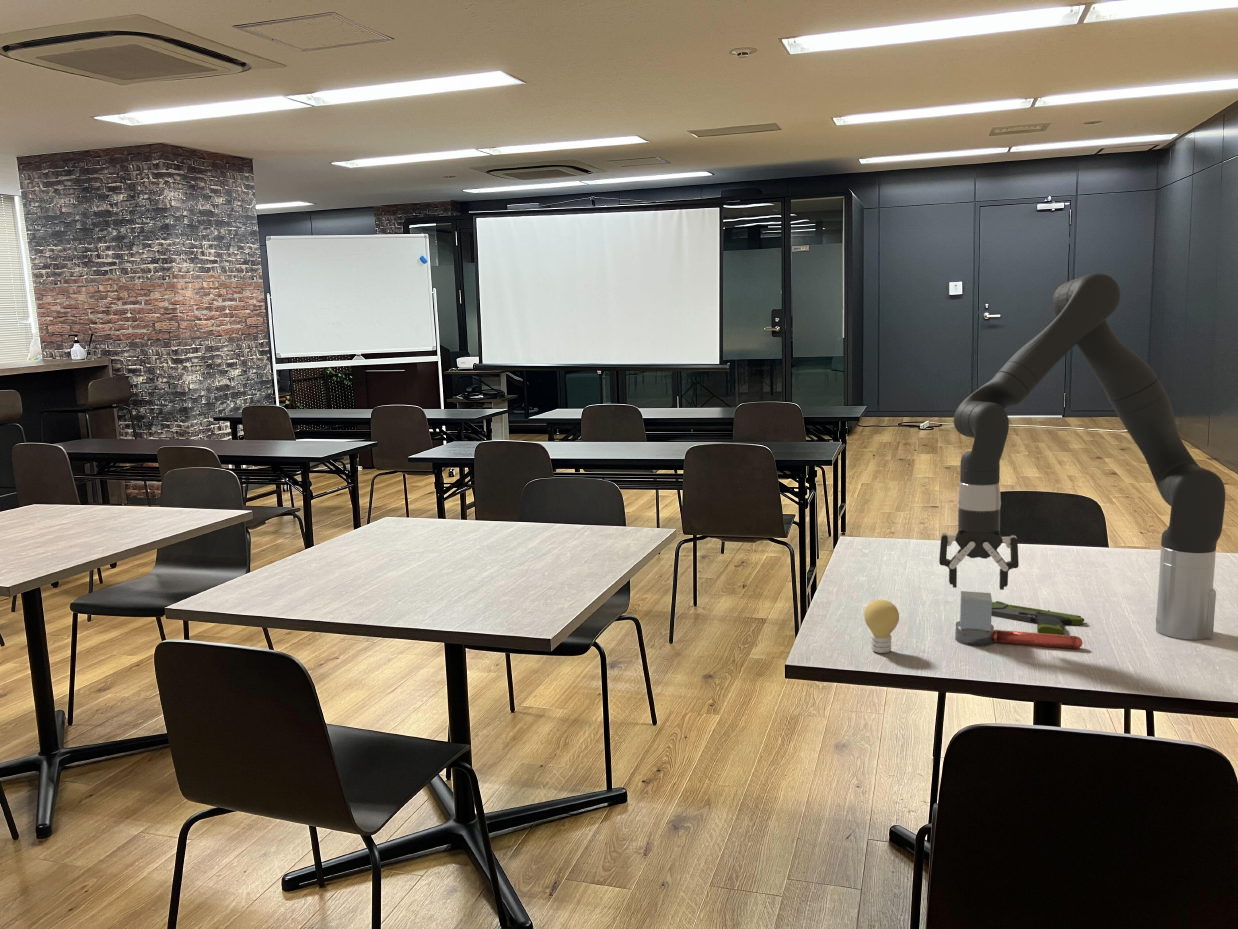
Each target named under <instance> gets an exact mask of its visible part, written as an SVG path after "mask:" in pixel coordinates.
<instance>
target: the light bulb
mask: <svg viewBox="0 0 1238 929" xmlns="http://www.w3.org/2000/svg"><path fill="white" fill-rule="evenodd" d="M863 617H864V621H865V624H866V626H867V627H868V629H869V630H870V631H871V635H870V638H871V639H870V643H871V645H870V649H871V650H872V651H873V652H874V653H878V654H886V653H889V652H890V651H891V650H892V635H891V633H892V632H893V631H894V630H895V629H896V627H897V626H898V624H899V622H900V613H899V610H898V608H897V607H896V605H895V604H894V603H893V602H891V601H889V600H887V599H877V600H873V601H871V602H869V603H868V604H867V605H866V607H865V610H864V614H863Z"/></svg>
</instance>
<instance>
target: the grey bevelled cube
mask: <svg viewBox="0 0 1238 929" xmlns="http://www.w3.org/2000/svg"><path fill="white" fill-rule="evenodd" d="M992 599H993V598H992V594H991V592H983V591H982V592H981V591H968V590H967V591H966V590H964V591H963V590H960V610H959V621H960V629H969V630H982V631H991V624H992V616H991V615H992V602H993V600H992Z"/></svg>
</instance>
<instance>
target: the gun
mask: <svg viewBox="0 0 1238 929" xmlns="http://www.w3.org/2000/svg"><path fill="white" fill-rule="evenodd" d="M991 617H996V618H1003V619H1009V620H1015V621H1016V620H1017V621H1021V622H1022V621H1023V622H1028V623H1031V624H1032V623H1033V624H1037V625H1036V633H1043V634H1056V635H1065V634H1064V633H1065V625H1066V626H1067V625H1069V626H1070V625H1073V626H1082V625H1084V622H1085V618H1083V617H1082V616H1081V615H1076V614H1070V613H1065V612H1058V611H1051V610H1050V609H1041V608H1040V609H1039V608H1034V607H1026V606H1021V605H1015V604H1008V603H1005V602H1002V601H1000V600H999V601H998V600H996V601H992V615H991Z"/></svg>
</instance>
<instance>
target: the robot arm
mask: <svg viewBox="0 0 1238 929" xmlns="http://www.w3.org/2000/svg"><path fill="white" fill-rule="evenodd" d="M1120 302H1121V290H1120V286H1119V284H1118V282H1117V281H1116V280H1115V279H1114V278H1113V277H1111V276H1109V275H1108V274H1105V273H1100V272H1099V273H1097V272H1096V273H1089V274H1085V275H1082V276H1080V277H1077V278H1074V279H1072V280H1071V279H1070V280H1069V281H1066V282H1063V283H1061V285H1059V286H1058V288H1056V290H1055V291H1054V293H1053V297H1052V308H1053V312H1054V314H1055V316H1056V318H1054V320H1052V321H1051V322H1050V323H1049V325H1047V326H1046V327H1045V328H1044V329H1043V330H1041V331H1040V332H1039V333H1037V335H1036V336H1035V337H1033V338H1032V339H1030V340H1029V341H1028V342H1027V343H1026V344H1024V345H1023V346H1022V347H1020V348H1019V349H1018V350H1017V351H1015V353H1014V354H1013V355H1012V356H1011V357H1010V358H1009V359H1008V360H1007V361H1006V362H1005V364H1004V365H1003V366H1002V367H1001V368H1000V369H999V370H998V371H997V372H996V373H995V374H994V376H993V377H992V378H991V380H989V381H988V382H986V383H984V384H983V385H981V386H980V387H979V388H978V389H975V391H973V392H972V393H971V394H970V395H968V396H967V397H966V398H965V399H964V400H963V401H962V402H961V403H960V404H959V405H958V407H957V409H956V410H955V413H954V416H953V425H954V427H955V428H954V429H955V430H956V431H957V432H958V433H959V434H960V435H962V436H965V437H968V438H974V439H973V444H972V448H971V450H969V451H966V452H964V453H963V454H962V455H961V459H960V466H959V467H960V469H959V470H960V471H959V474H960V475H959V477H960V478H959V490H958V501H957V504H958V505H957V506H958V509H957V510H958V513H957V516H958V517H957V520H958V521H957V532H956V534H955V535H953V534H947V533H946V532H943V533H941V535H940V545H939V546H940V547H939V560H938V562H939V565H940V566H942V567H947V568H948V583H949V584H950V585H952V588H955V589H957V586H958V585H957V584H958V582H957V581H958V580H957V579H958V577H957V576H958V574H957V573H958V567H957V566H958V565H960V563H961V562H962V561H963V560H964V559H965V558H966V557H968V558H970V559H977V558H980V559H986V560H987V559H988V558H992V559H993V561H994V562H995V563H996V564H997V566H998V567H999V585H998V586H999V590H1000V591H1004V590H1005V588H1007V587H1008V585H1009V571H1010V570H1013V569H1018V568H1019V564H1020V563H1019V546H1018V545H1019V544H1018V538H1017V536H1016V535H1015V534H1011V535H1010V536H1002V535H1001V506H1002V500H1001V499H1002V498H1001V486H1000V476H1001V475H1000V471H1001V470H1000V468H1001V467H1000V462H1001V459H1002V455H1003V453H1004V449H1005V446H1006V442H1007V439H1008V434H1009V428H1010V422H1009V421H1010V420H1009V416H1008V413H1007V410H1006V409H1007V408H1010V407H1014V406H1015V407H1016V406H1018V405H1020V404H1021V403H1022V402H1024V401H1025V400H1026V398H1027V397H1028V396H1029V395H1030V394H1031V393H1032V392H1033V391H1034V389H1035V388H1036V387H1037V386H1038V385H1039V384H1040V383H1041V381H1042V380H1043V379H1044V378H1045V377H1046V376H1047V374H1048V373H1049V372H1050V371H1051V370H1052V369H1054V367H1055V366H1056V365H1057V364H1058V363H1059V362H1060V361H1061V360H1062V359H1063V358H1064V357H1065V355H1066V354H1068V353H1069V352H1070V351H1071V350H1072V349H1073V348H1074V347H1075V346H1077V347H1078V350H1080V352H1081V353H1082V355H1083V357H1084V358H1085V361H1086V362H1087V363H1088V365H1089V367H1090V369H1091V371H1092V373H1093V374H1094V375H1095V377H1096V379H1097V380H1098V382H1099V384H1100V386H1101V388H1102V389H1103V391H1104V393H1105V396H1106V397H1107V399H1108V401H1109V403H1110V404H1111V406H1112V408H1113V410H1114V411H1115V413H1116V414H1117V417H1118V418H1119V420H1120V421H1121V423H1122V425H1123V427H1124V428H1125V429H1126V431H1127V432H1128V434H1129V435H1130V437H1131V439H1132V440H1133V441H1134V443H1135V444H1136V447H1138V448H1139V450H1140V452H1141V454H1142V455H1143V457H1144V460H1145V461H1146V464H1147V465H1148V469H1149V470H1150V473H1151V475H1152V478H1153V480H1154V482H1155V485H1156V488H1157V490H1158V492H1159V494H1160V496H1161V498H1162V499H1163V501H1164V502H1165V503H1166V504H1167V505H1169V506H1170V515H1169V516H1170V517H1169V523H1168V524H1169V525H1168V526H1167V528H1166V529H1165V530H1163V532H1162V533H1161V541H1160V556H1159V571H1158V573H1159V574H1158V588H1157V598H1156V601H1157V602H1156V614H1155V616H1156V617H1155V630H1156V631H1157V633H1160V634H1161V635H1164V636H1168V637H1170V638H1175V639H1182V640H1192V641H1193V640H1195V641H1196V640H1204V639H1209V640H1211V639H1214V628H1215V627H1214V626H1215V615H1216V599H1217V591H1216V590H1215V589H1214V581H1215V580H1214V579H1215V567H1216V566H1215V564H1216V554H1217V553H1216V552H1217V544H1218V540H1219V539H1220V537H1221V535H1222V531H1223V524H1224V514H1225V509H1226V508H1225V507H1226V487H1225V484H1224V482H1223V480H1222V478H1221V477H1220V476H1219V475H1218V474H1217V473H1216V472H1213V471H1212V470H1210V469H1207V468H1204V467H1201V465H1199V464H1198V463H1197V461H1196V460H1195V459H1194V457H1193V456H1192V454H1191V453H1190V451H1189V450H1188V449H1187V447H1186V446H1185V444H1184V443H1183V440H1182V438H1181V436H1180V435H1179V431H1178V428H1177V424H1176V419H1175V413H1174V410H1173V406H1172V403H1171V400H1170V398H1169V396H1168V394H1167V392H1166V389H1165V388H1164V386H1163V385H1162V382H1161V381H1160V379H1159V378H1158V375H1157V374H1156V372H1155V371H1154V370H1153V368H1152V367H1151V366H1150V365H1149V364H1148V363H1147V362H1146V361H1144V360H1143V359H1142V357H1140V356H1139V355H1137V354H1136V353H1135V352H1134V351H1132V350H1131V349H1130V348H1129V347H1127V346H1126V345H1125V344H1124V343H1123V342H1122V341H1121V340H1120V339H1118V337H1117V336H1116V335H1115V333H1114V332H1113V330H1112V329H1111V326H1110V325H1109V324H1108V321H1107V319H1108V318H1109V317H1111V315H1113V314H1114V313H1115V311H1116V310H1117V309H1118V307H1119V305H1120ZM953 542H955V543H956V544H957V545H958V547H959V548H958V550H957V551H956V552H955V554H954V555H953V556H952V558H950V559H949V558H947V552H948V547H950V546H952V545H953ZM1003 543H1004V544H1005V546H1006V548H1007V549H1010V552H1009V553H1010V560H1008V561H1006V560H1005V559H1004V558H1003V557H1002V555H1001V553H1000V552H999V551H998V549H999V547H1000V546H1001V545H1002V544H1003Z"/></svg>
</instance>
